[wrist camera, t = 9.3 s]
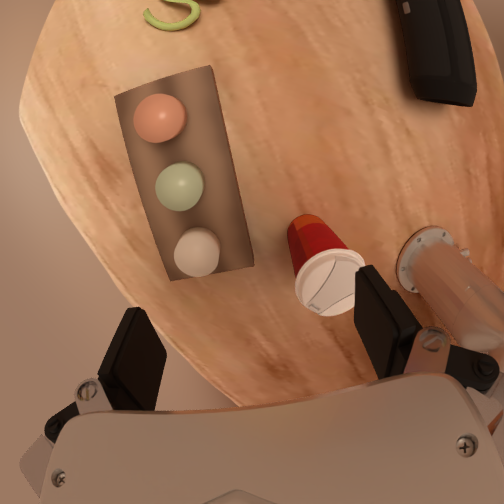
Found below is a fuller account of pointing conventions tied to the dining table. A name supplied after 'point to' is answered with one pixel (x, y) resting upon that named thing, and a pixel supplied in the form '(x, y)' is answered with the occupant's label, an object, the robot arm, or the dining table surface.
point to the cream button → (197, 252)
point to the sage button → (180, 186)
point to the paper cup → (322, 267)
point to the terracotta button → (160, 118)
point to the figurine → (178, 25)
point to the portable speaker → (438, 51)
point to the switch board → (199, 153)
